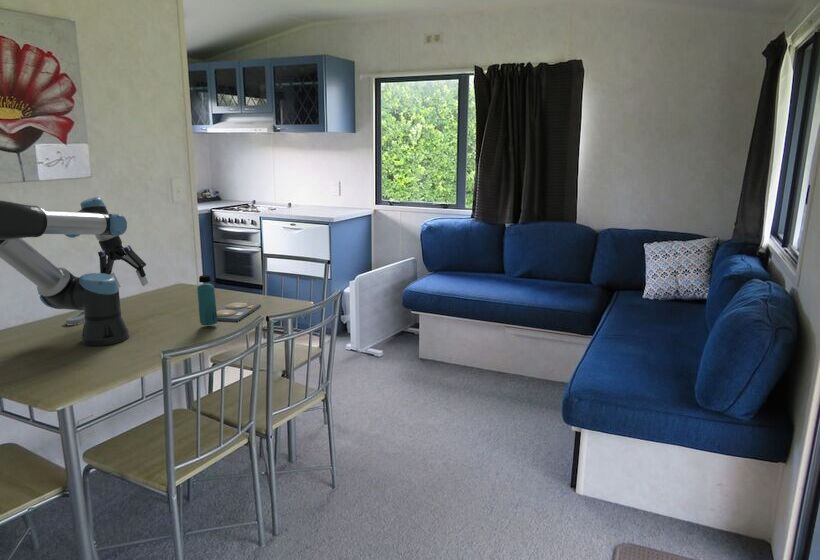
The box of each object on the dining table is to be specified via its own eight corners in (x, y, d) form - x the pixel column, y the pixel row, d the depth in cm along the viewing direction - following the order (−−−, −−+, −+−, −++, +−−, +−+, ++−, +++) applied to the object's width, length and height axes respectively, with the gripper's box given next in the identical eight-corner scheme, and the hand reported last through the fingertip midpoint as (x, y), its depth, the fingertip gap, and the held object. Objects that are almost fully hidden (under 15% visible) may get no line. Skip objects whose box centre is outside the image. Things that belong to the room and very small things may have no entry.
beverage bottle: (214, 329, 224) (210, 277, 219) (197, 329, 224) (192, 277, 219) (220, 324, 230) (216, 273, 226) (203, 324, 230) (199, 273, 226)
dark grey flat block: (238, 321, 234) (237, 317, 233) (204, 319, 236) (204, 316, 235) (261, 306, 255) (260, 302, 254) (230, 305, 257) (230, 301, 257)
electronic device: (59, 302, 227) (86, 291, 241) (63, 326, 229) (89, 314, 244) (72, 303, 226) (97, 292, 240) (75, 327, 229) (101, 315, 243)
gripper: (140, 228, 227) (162, 278, 235) (89, 238, 234) (112, 285, 243) (128, 236, 220) (151, 287, 229) (75, 245, 228) (100, 294, 236)
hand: (131, 286), depth 236 cm, fingers open, 13 cm apart
